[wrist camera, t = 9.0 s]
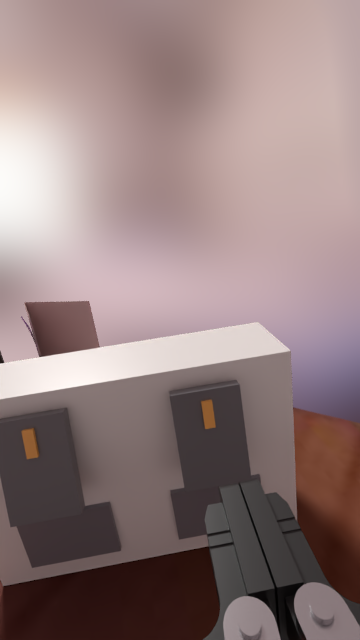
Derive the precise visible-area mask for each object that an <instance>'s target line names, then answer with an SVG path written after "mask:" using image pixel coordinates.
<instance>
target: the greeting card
mask: <svg viewBox="0 0 360 640" xmlns="http://www.w3.org/2000/svg"><path fill="white" fill-rule="evenodd" d="M24 304H25V308H26V311H27V314H28V317H29V321H30V325H31V328H32V332H33V334H32V332H31V330H30V328H29V326H28V325H27V323H26V322H25V321H24V322H25V324H26V326H27V327H28V329H29V331H30V333H31V335H32V337H33V335H34V337H33V339H34V342H35V344H36V347H37V351H38V354H39V357H45V356H51V355H57V354H63V353H69V352H76V351H82V350H88V349H94V348H100V347H99V343H98V338H97V334H96V329H95V325H94V321H93V316H92V312H91V307H90V304H89V301H77V302H25V303H24ZM22 319H23V318H22ZM23 320H24V319H23Z"/></svg>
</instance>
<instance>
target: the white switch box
mask: <svg viewBox="0 0 360 640" xmlns="http://www.w3.org/2000/svg"><path fill="white" fill-rule="evenodd" d="M231 380H237V381H238V383H239V384H240V391H241V399H242V407H243V415H244V423H245V431H246V439H247V447H248V455H249V463H250V471H251V479H252V480H255V479H258V480H259V481H260V483H261V486H262V488H263V490H264V493H265V494H268V493H273V492H277V493H278V494H279V495H280V496H281V497H282V498H283V499H284V500H285V501H286V502H287V503H288V504H289V506H290V508H291V510H292V512H293V514H294V516H295V519H296V520H297V502H296V476H295V449H294V423H293V399H292V398H293V397H292V371H291V351H290V350H289V349H288V348H287V347H286V346H285V345H283V344H282V343H281V342H280V341H279V340H278V339H277V338H275V337H274V336H273V335H272V334H271V333H270V332H269V331H267V330H266V329H265V328H264V327H263V326H262V325H260V324H259V323H258V322H256V323H249V324H243V325H238V326H231V327H224V328H218V329H212V330H206V331H200V332H194V333H187V334H181V335H175V336H169V337H162V338H156V339H150V340H144V341H138V342H131V343H125V344H119V345H113V346H107V347H101V348H94V349H88V350H82V351H76V352H69V353H63V354H57V355H51V356H45V357H38V358H32V359H26V360H20V361H13V362H8V363H1V364H0V419H2V418H8V417H14V416H20V415H26V414H32V413H38V412H43V411H49V410H55V409H61V408H67V410H68V415H69V420H70V426H71V431H72V437H73V442H74V448H75V453H76V459H77V464H78V469H79V475H80V480H81V486H82V491H83V497H84V502H85V507H84V509H83V512H82V514H80V515H75V516H69V517H64V518H58V519H53V520H48V521H42V522H37V523H32V524H26V525H21V526H15V527H10V522H9V518H8V513H7V508H6V503H5V498H4V493H3V488H2V483H1V478H0V580H1V582H2V585H3V586H7V585H12V584H17V583H22V582H27V581H32V580H37V579H43V578H48V577H53V576H58V575H63V574H68V573H74V572H79V571H84V570H89V569H94V568H99V567H104V566H110V565H115V564H120V563H125V562H130V561H135V560H140V559H146V558H151V557H156V556H161V555H166V554H171V553H176V552H182V551H187V550H192V549H197V548H202V547H207V546H209V545H208V538H207V532H206V525H205V515H206V511H207V507H208V505H211V504H217V503H220V497H219V489H218V486H217V487H212V488H206V489H201V490H196V491H190V492H185V488H184V482H183V476H182V470H181V464H180V458H179V452H178V445H177V439H176V433H175V427H174V421H173V415H172V409H171V402H170V396H169V391H172V390H178V389H184V388H190V387H196V386H202V385H208V384H213V383H219V382H225V381H231ZM233 484H234V483H233ZM228 485H229V484H228Z"/></svg>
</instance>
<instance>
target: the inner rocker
mask: <svg viewBox="0 0 360 640" xmlns="http://www.w3.org/2000/svg"><path fill="white" fill-rule="evenodd" d="M0 478H1V483H2V488H3V493H4V498H5V503H6V508H7V513H8V518H9V522H10V527H15V526H21V525H26V524H32V523H37V522H42V521H48V520H53V519H58V518H64V517H69V516H75V515H80V514H82V512H83V509H84V507H85V502H84V497H83V491H82V486H81V480H80V475H79V469H78V464H77V459H76V453H75V448H74V442H73V437H72V431H71V426H70V420H69V415H68V410H67V408H61V409H55V410H49V411H43V412H38V413H32V414H26V415H20V416H14V417H8V418H2V419H0Z"/></svg>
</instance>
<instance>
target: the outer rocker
mask: <svg viewBox="0 0 360 640" xmlns="http://www.w3.org/2000/svg"><path fill="white" fill-rule="evenodd" d="M169 396H170V402H171V409H172V415H173V421H174V427H175V433H176V439H177V445H178V452H179V458H180V464H181V470H182V476H183V482H184V488H185V492H190V491H196V490H201V489H206V488H212V487H217V486H223V485H228V484H233V483H239V482H244V481H249V480H252V479H251V471H250V463H249V455H248V447H247V439H246V431H245V423H244V415H243V407H242V399H241V391H240V384H239V383H238V381H237V380H231V381H225V382H219V383H213V384H208V385H202V386H196V387H190V388H184V389H178V390H172V391H169Z"/></svg>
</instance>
